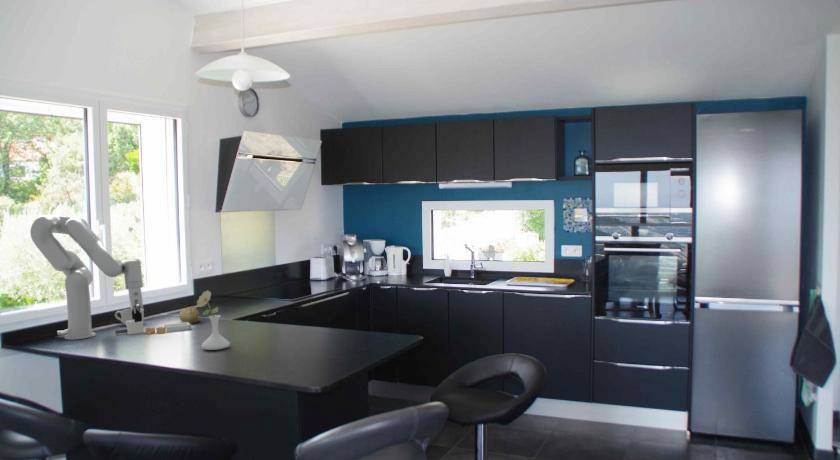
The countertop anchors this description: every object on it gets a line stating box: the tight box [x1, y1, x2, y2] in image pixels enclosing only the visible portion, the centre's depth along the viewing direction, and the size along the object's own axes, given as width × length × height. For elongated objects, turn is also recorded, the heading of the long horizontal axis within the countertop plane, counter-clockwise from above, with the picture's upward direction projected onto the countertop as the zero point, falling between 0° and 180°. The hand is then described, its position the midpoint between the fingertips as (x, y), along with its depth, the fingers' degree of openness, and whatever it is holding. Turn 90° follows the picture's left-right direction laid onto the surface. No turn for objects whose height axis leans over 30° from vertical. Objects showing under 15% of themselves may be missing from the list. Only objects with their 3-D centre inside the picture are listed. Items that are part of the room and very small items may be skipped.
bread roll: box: [178, 306, 200, 325], centre depth 324 cm, size 10×15×8 cm, turn 26°
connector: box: [114, 320, 145, 335], centre depth 298 cm, size 12×4×6 cm, turn 120°
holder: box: [163, 322, 192, 333], centre depth 305 cm, size 11×8×2 cm
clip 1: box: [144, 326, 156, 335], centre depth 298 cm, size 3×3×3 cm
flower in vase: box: [196, 290, 230, 351], centre depth 260 cm, size 13×11×25 cm
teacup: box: [114, 307, 145, 327], centre depth 320 cm, size 14×11×8 cm
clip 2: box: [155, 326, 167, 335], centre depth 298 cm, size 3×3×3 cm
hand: (137, 320), depth 300 cm, fingers open, 9 cm apart
